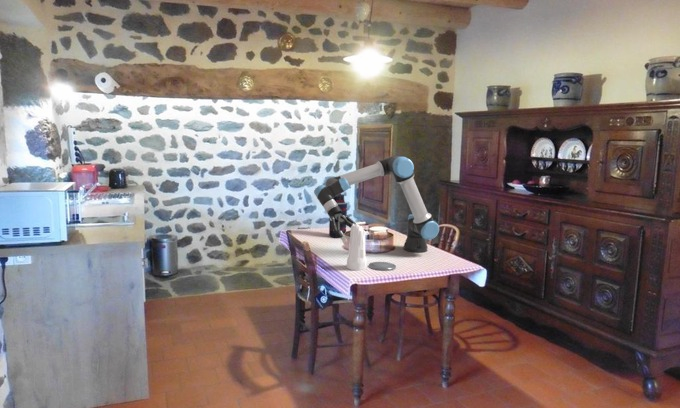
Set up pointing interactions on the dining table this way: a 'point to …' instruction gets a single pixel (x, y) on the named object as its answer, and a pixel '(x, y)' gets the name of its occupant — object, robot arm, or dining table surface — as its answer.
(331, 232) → the black thermos flask
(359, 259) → the decorative vase
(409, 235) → the robot arm
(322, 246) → the dining table surface
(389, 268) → the disc
